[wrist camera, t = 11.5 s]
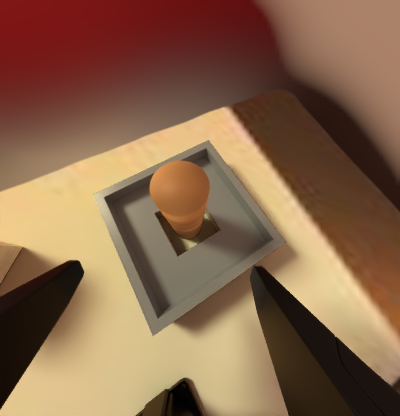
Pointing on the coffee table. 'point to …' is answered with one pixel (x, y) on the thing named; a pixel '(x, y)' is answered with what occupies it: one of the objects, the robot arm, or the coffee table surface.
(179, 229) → the orange peg
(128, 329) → the coffee table surface
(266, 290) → the robot arm
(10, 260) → the supplement box
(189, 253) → the socket box
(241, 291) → the coffee table surface
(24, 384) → the coffee table surface
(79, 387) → the coffee table surface
